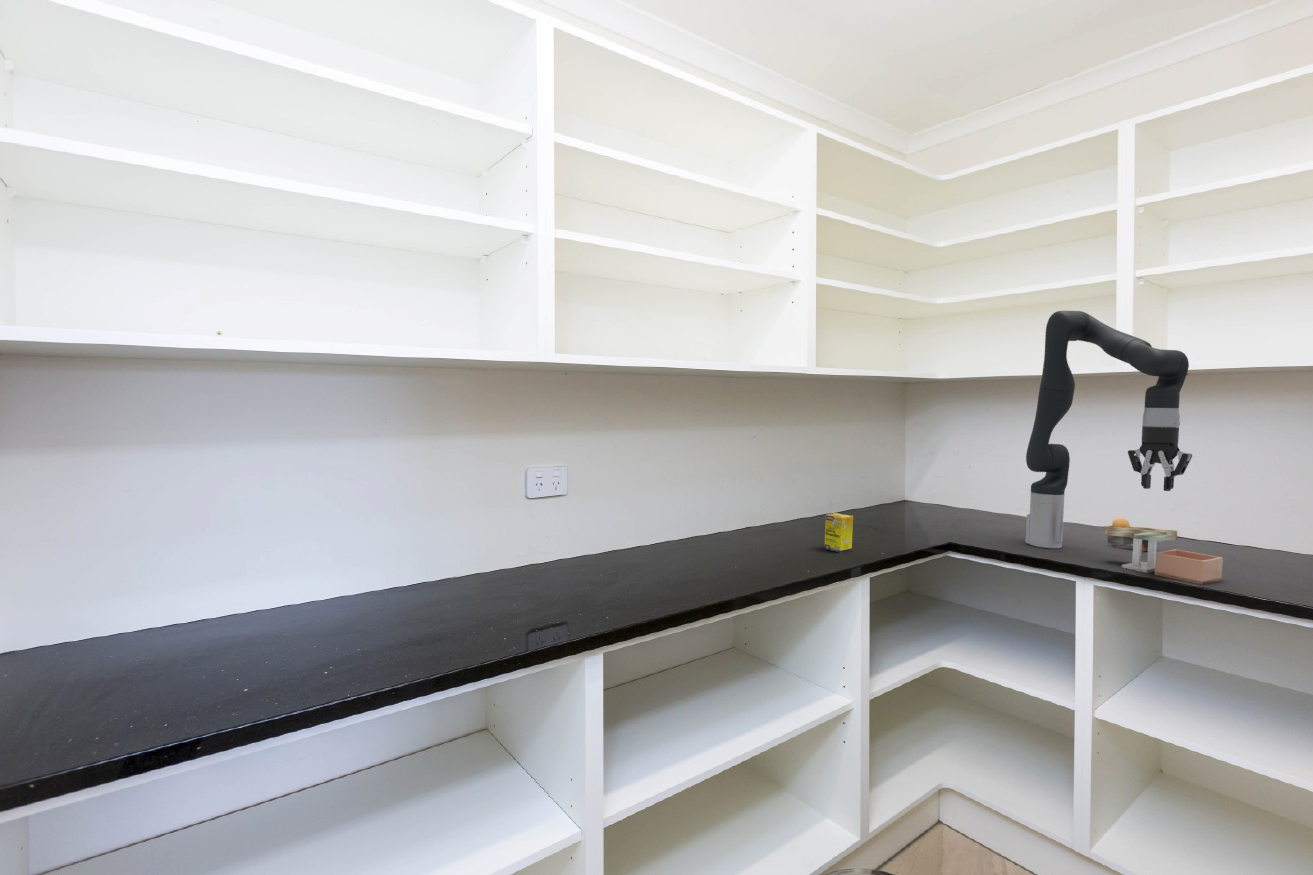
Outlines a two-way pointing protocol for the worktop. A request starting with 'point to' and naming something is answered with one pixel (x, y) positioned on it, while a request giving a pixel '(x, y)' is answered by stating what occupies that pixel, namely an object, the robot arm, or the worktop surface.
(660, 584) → the worktop surface
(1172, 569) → the pink storage bin
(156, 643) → the worktop surface
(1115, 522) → the ball
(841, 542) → the supplement box
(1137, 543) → the chute stand
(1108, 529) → the chute
